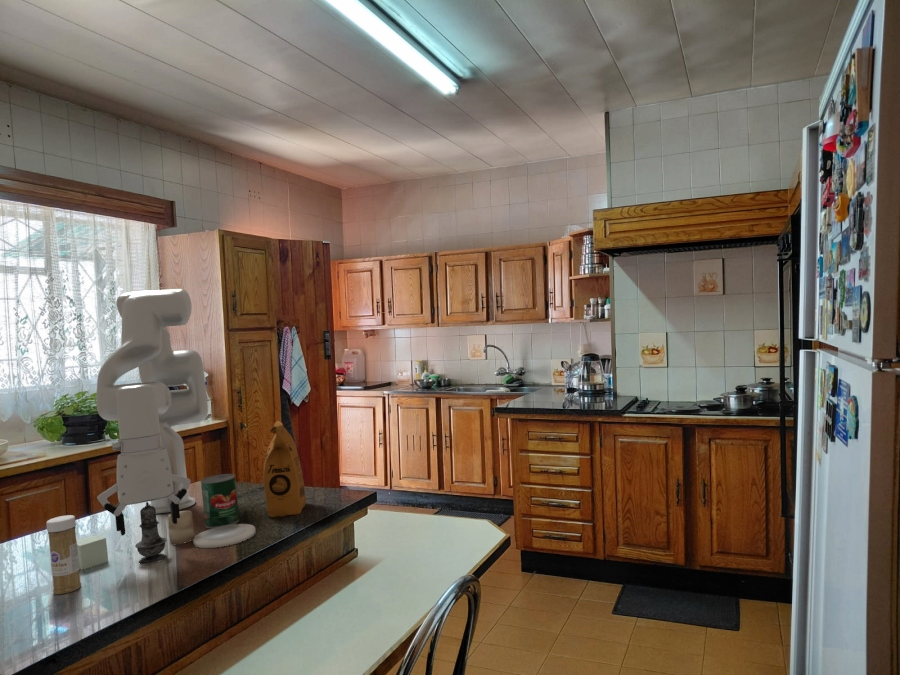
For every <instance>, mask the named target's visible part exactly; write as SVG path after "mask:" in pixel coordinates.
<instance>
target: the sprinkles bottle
mask: <svg viewBox="0 0 900 675" xmlns="http://www.w3.org/2000/svg"><path fill="white" fill-rule="evenodd" d="M76 525H77V524H76V517H75V515H71V514H69V515H68V514H67V515H60V516H56V517H54V518H49V519H48V520H47V521H46V532H47V535H48V541H49V552H50V569H51V576H52V586H53V590H52V593H54V594H55V595H63V594H65V595H66V594H69V593H72V592H74V591H76V590H78V589H79V588H81V587H82V583H81V575H80V569H79V559H78V550H77V541H76V540H77V536H76Z"/></svg>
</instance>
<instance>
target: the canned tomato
mask: <svg viewBox="0 0 900 675" xmlns="http://www.w3.org/2000/svg"><path fill="white" fill-rule="evenodd" d="M200 484H201V487H200V488H201V489H200V490H201V496H202V507H203V508H202V509H203V518H204V519H203V520H204V527H205V528H206V527H208V528H207V529H212V528H216V527H220V526H225V525H232V524H238V522H240V516H239V513H240V512H239V503H238V493H237V492H238V491H237V484H236V474H234V473H222V474H215V475H210V476H206V477H203V478H202V479H201V480H200Z"/></svg>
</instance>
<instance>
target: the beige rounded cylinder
mask: <svg viewBox="0 0 900 675" xmlns="http://www.w3.org/2000/svg"><path fill="white" fill-rule="evenodd" d="M179 513H180V518H177V524H173V522H172V519H171V513H170V514H168V515H167V523H168V534H169V543H171V545H174V544H177V545H181V544H180V543H183V544H185V543H184V542H187V543H189V542H188V541H190V540H192V539H193V538H194V537H195V529H194V522H193V521H194V519H193V512H192V510H179ZM192 541H193V540H192ZM190 542H191V541H190Z"/></svg>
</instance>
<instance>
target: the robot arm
mask: <svg viewBox="0 0 900 675" xmlns="http://www.w3.org/2000/svg"><path fill="white" fill-rule="evenodd" d="M191 299H192V298H191V297H190V294H189V292H188V291H187V290H186V289H183V288H171V289H169V288H168V289H155V290H151V289H150V290H137V291H131V292H130V291H129V292H124V293H122V294H120V295H119V296H118V297H117V298H116V310H117V311H118V313H119V314H118V315H119V316H120V318H121V336H120V338H121V339H120V340H121V345H120V346H119V348H118V347H117V349H116V350H115V351H114V352H112V354H111V355H109V357H108V358H107V359H106V360H105V362H104V363H103V364H102V366H101V367H100V369H99V371H98V375H97V381H96V394H95V396H96V399H95V400H96V401H95V402H96V409H97V413H98V415H99V417H101V418H102V419H103V420H104V421H110V422H111V421H113V422H114V421H117V423H118V424H117V425H118V426H117V427H118V437H119V440H118V441H117V442H116V443H112V445H111V447H112V448H111V449H112V450H113V451H119V452H120V454H118V455H117V458H116V483H115V484H114V485H111V486H110V487H109V488H107V489H106V490H104V491H103V492H101V493H99V494H98V495H97V497H96V498H97V500H98V502H99V503H100V505H101V506H102V507H103V508H104V509H105V511H107V512H108V513H111V514H112V515H113V516H115V524H116V525H115V527H116V532H120V535H121V536H125V535H126V526H125V516H124V513H123V512H124V509H125V508H126V507H127V506H130V505H136V504H142V503H147V502H148V503H149V502H150V503H149V504H148V505H150V506H153V507H155V509H156V515H157V514H165V513H170V514H171V519H172V522H173V524H177V518H180V513H179V511H182V510H185V509H187V508H190V507H192V506H193V505H195V503H196V498H195V497H193V496H190V495H189V487H190V485H191V483H192V482H191V481H192V480H191V479H190V478H188V476H187V467H186V466H187V465H186V457H185V456H186V454H185V445H184V441H183V438H182V436H181V435H180V434H179V433H178V432H177V431H175V430H174V429H173V428H172V427H173V426H175V427H176V426H180V425H181V426H182V425H187V424H188V425H189V424H196V423H200V422H202V421H204V420H206V418H208V417H207V416H208V411H209V405H208V398H207V397H208V396H207V388H206V387H207V386H206V378H205V370H204V364H203V358H202V357H201V355H200V354H199V352H198V351H196V350H194V349H180V350H173V349H172V344H171V335H170V332H169V331H168V329H167V328H166V327H177V326H185V325H187V324H188V322H189V320H190V318H191V315H192V309H193V308H192V307H193V306H192V300H191ZM136 368H138V374H139V378H140V382H134V383H124V384H115V383H116V382H117V381H118V380H119V379H120V378H121V377H122V376H124V375H125V374H127V373H129V372H131V371H133V370H134V369H136ZM179 386H184V387H185V386H186V387H187V388H184V389H174V390H170V387H179ZM115 493H117V499H118V503H117V504H116V506H115V505H113V504H112V503H111V502H109V500H108V498H109V497H111V496H113V495H114V494H115Z"/></svg>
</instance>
